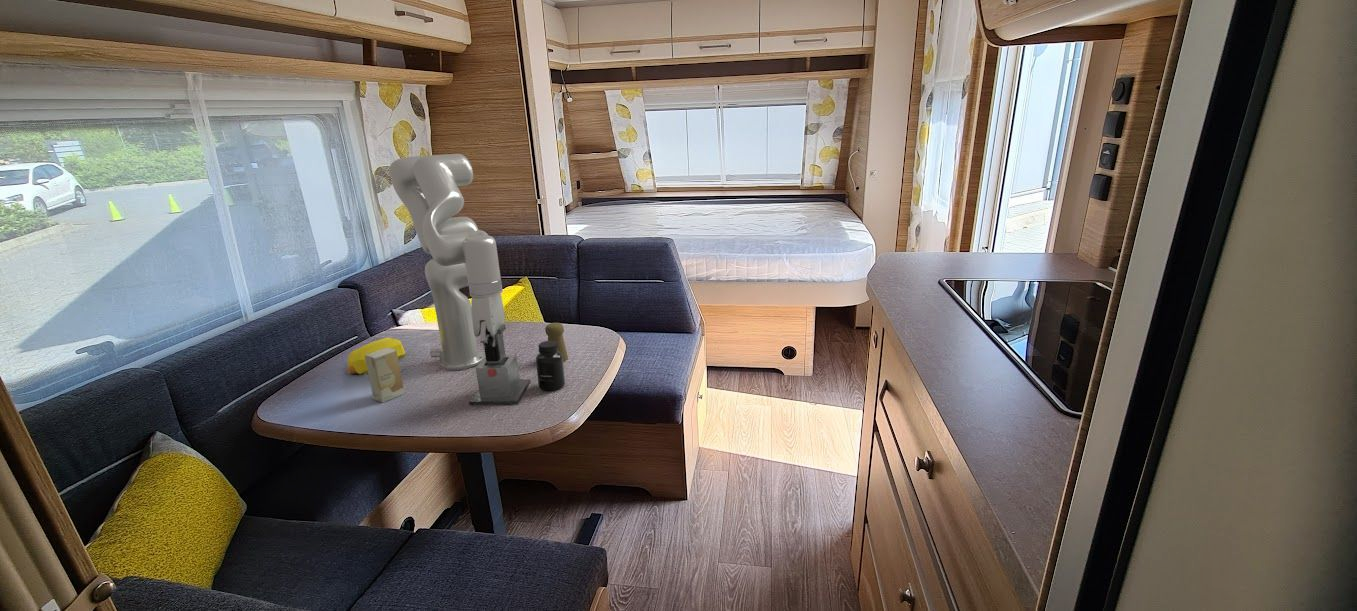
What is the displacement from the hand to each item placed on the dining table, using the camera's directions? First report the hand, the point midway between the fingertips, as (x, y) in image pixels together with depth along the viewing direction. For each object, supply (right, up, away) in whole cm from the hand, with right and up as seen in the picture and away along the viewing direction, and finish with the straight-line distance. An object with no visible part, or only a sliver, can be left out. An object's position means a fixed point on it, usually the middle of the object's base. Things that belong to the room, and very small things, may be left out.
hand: (495, 356), depth 143 cm
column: (0, -8, +3) cm, 9 cm away
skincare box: (-29, -11, +4) cm, 31 cm away
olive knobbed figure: (+11, -3, +23) cm, 26 cm away
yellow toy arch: (-42, -5, +24) cm, 49 cm away
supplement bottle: (+13, -8, +6) cm, 17 cm away
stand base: (0, -10, +3) cm, 10 cm away
